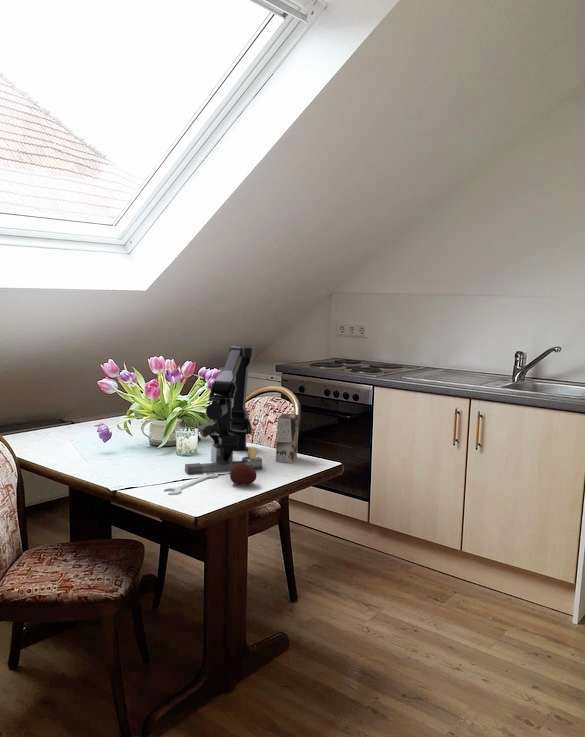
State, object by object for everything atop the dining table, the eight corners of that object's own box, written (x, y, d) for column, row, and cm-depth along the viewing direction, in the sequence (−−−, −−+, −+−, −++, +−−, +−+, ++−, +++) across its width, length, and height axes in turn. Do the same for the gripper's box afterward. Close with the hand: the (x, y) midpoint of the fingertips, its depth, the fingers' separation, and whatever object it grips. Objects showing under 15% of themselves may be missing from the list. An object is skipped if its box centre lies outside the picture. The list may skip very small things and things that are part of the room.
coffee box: (292, 463, 233) (294, 419, 231) (275, 461, 234) (276, 417, 232) (297, 457, 242) (299, 414, 240) (280, 455, 243) (282, 412, 241)
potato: (253, 489, 202) (254, 467, 201) (227, 486, 203) (227, 465, 202) (258, 482, 209) (259, 461, 208) (233, 480, 210) (233, 459, 210)
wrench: (159, 495, 195) (174, 498, 193) (159, 490, 195) (174, 493, 192) (208, 474, 217) (221, 476, 215) (208, 469, 217) (221, 472, 214)
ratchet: (183, 469, 219) (184, 449, 218) (257, 464, 230) (258, 444, 229) (188, 475, 213) (189, 454, 212) (264, 469, 223) (265, 449, 222)
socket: (211, 460, 232) (211, 444, 231) (227, 459, 234) (227, 443, 233) (215, 465, 226) (216, 448, 225) (232, 463, 229) (233, 447, 228)
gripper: (193, 410, 233) (192, 452, 235) (208, 421, 216) (207, 467, 218) (223, 409, 238) (222, 450, 240) (240, 419, 221) (238, 464, 223)
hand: (221, 458), depth 230 cm, fingers open, 9 cm apart
